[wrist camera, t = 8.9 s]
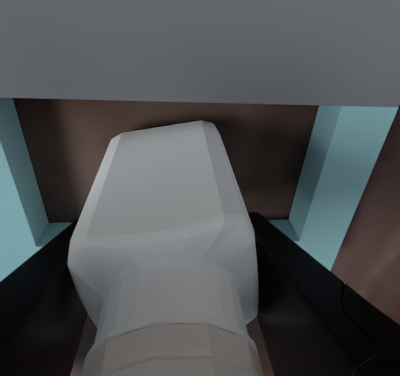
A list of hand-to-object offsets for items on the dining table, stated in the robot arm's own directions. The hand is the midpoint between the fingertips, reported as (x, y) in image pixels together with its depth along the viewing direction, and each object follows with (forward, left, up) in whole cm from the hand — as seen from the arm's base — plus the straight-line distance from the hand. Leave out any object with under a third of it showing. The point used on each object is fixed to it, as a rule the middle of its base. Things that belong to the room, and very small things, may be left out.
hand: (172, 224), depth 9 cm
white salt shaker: (0, 0, -4) cm, 4 cm away
